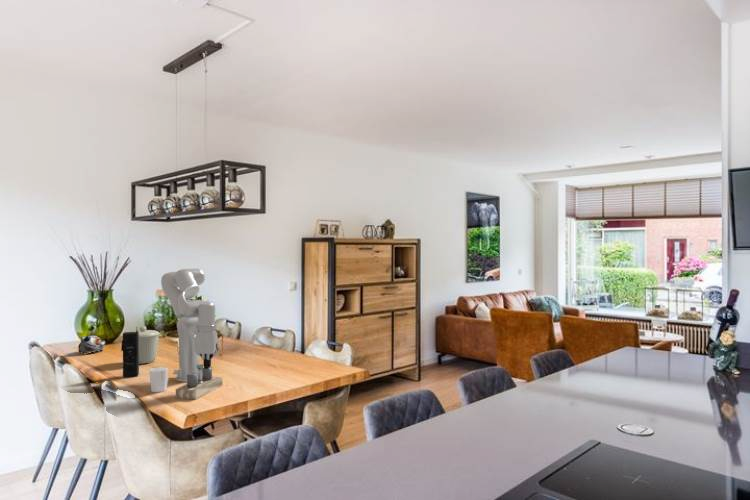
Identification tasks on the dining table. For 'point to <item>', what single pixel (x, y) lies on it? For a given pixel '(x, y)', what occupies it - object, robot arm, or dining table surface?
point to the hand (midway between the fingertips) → (207, 367)
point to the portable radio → (130, 354)
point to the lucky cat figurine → (90, 344)
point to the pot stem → (200, 373)
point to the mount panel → (199, 389)
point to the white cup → (159, 379)
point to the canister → (147, 345)
